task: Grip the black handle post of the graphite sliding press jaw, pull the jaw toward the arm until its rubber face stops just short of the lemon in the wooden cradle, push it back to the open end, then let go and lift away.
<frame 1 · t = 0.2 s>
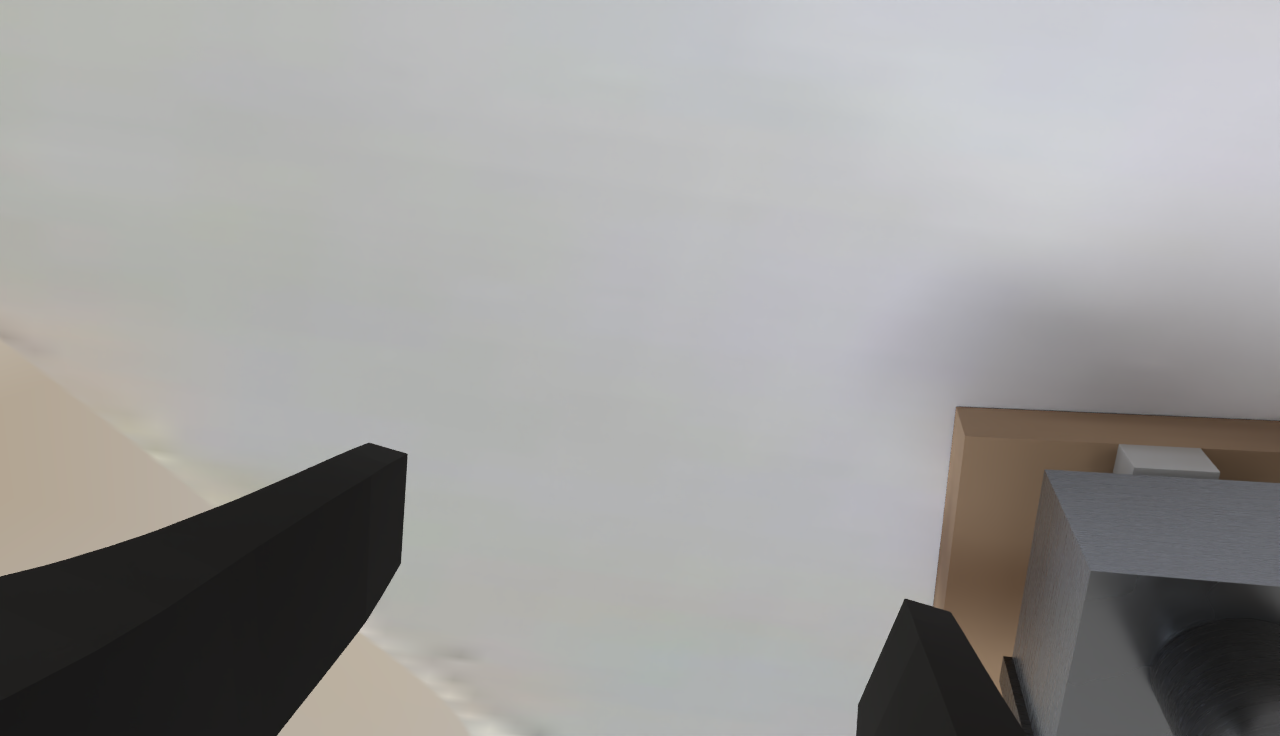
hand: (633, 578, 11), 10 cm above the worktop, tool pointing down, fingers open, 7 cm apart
press bed: (1098, 584, 21), on the worktop
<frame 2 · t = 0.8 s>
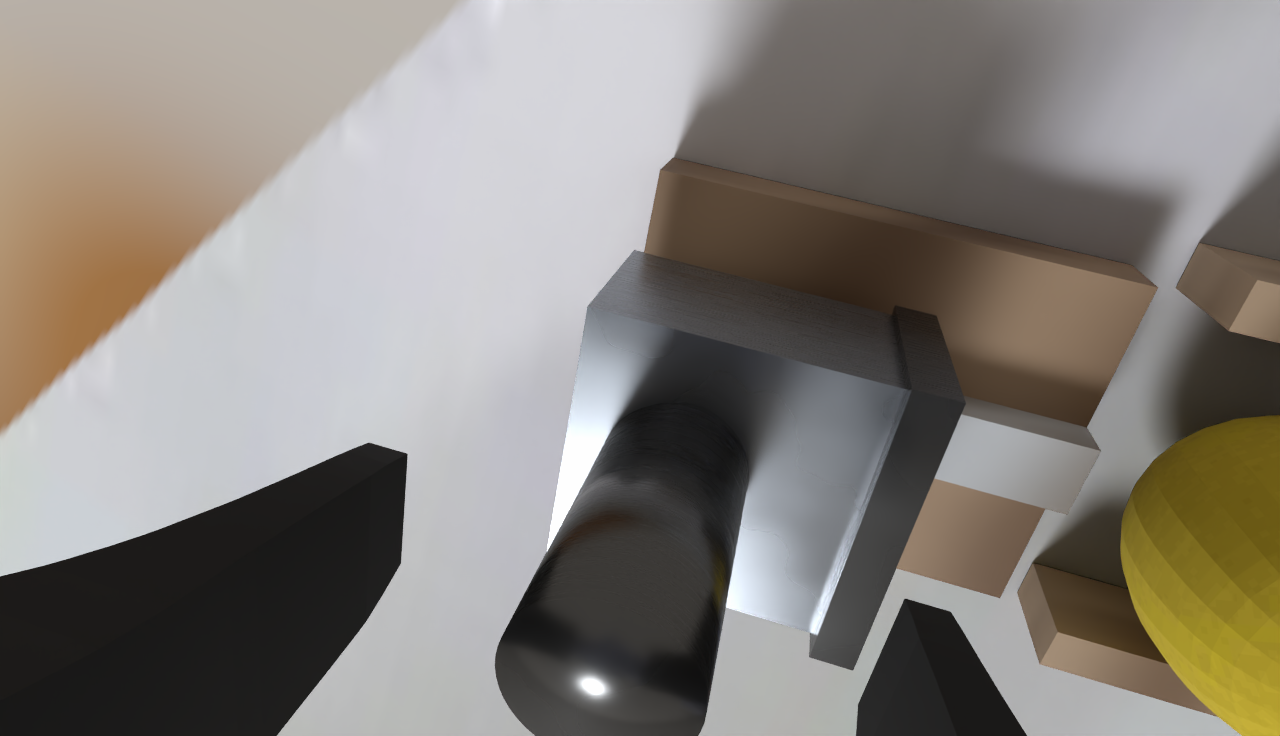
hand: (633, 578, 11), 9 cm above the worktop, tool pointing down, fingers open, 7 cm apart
lemon cradle: (1210, 467, 18), on the worktop
lemon: (1206, 462, 18), on the worktop
press bed: (840, 370, 19), on the worktop
press jaw: (723, 512, 13), point 7 cm above the worktop, slide at 0.0 cm
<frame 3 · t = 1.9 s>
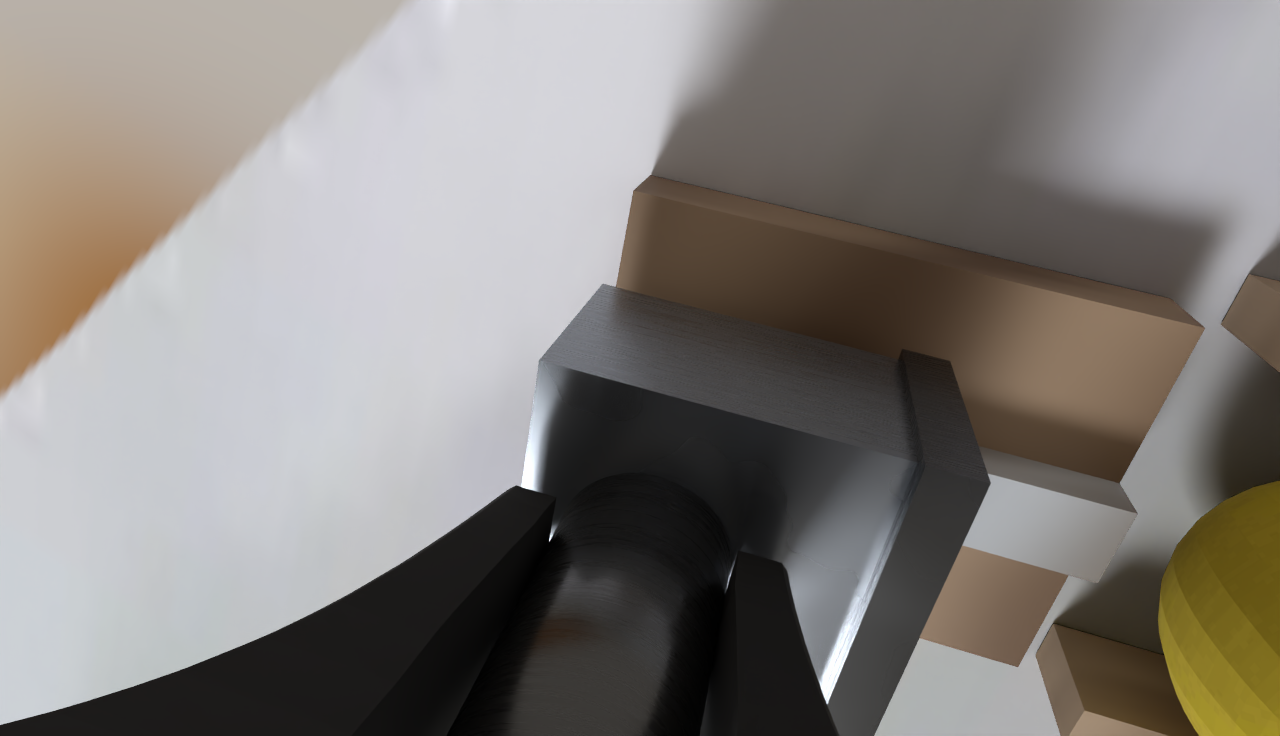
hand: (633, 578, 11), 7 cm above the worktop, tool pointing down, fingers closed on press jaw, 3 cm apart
lemon cradle: (1256, 523, 16), on the worktop
lemon: (1251, 516, 16), on the worktop
press bed: (839, 412, 17), on the worktop
press jaw: (701, 603, 11), point 7 cm above the worktop, slide at 0.0 cm, touching gripper
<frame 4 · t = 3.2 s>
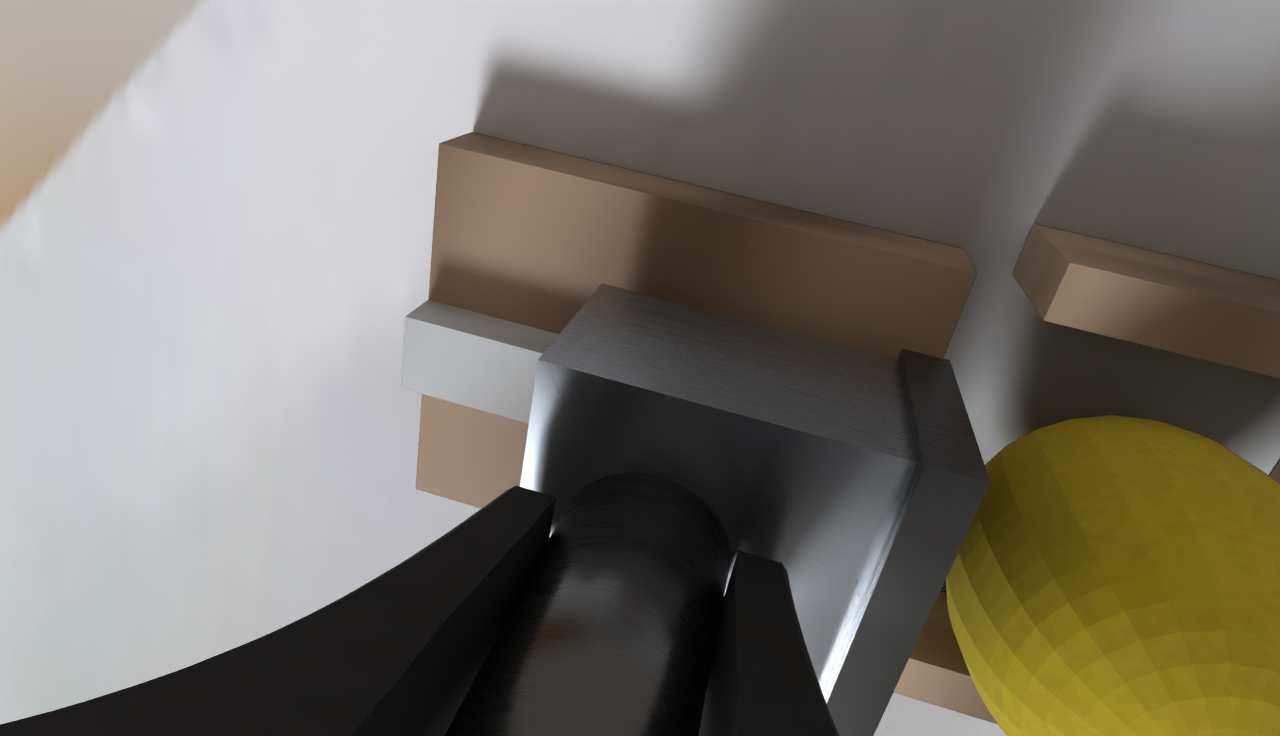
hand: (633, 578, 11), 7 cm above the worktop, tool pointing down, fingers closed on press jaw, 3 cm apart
lemon cradle: (1064, 471, 16), on the worktop
lemon: (1061, 466, 17), on the worktop
press bed: (668, 366, 17), on the worktop
press jaw: (700, 603, 11), point 7 cm above the worktop, slide at 3.8 cm, touching gripper
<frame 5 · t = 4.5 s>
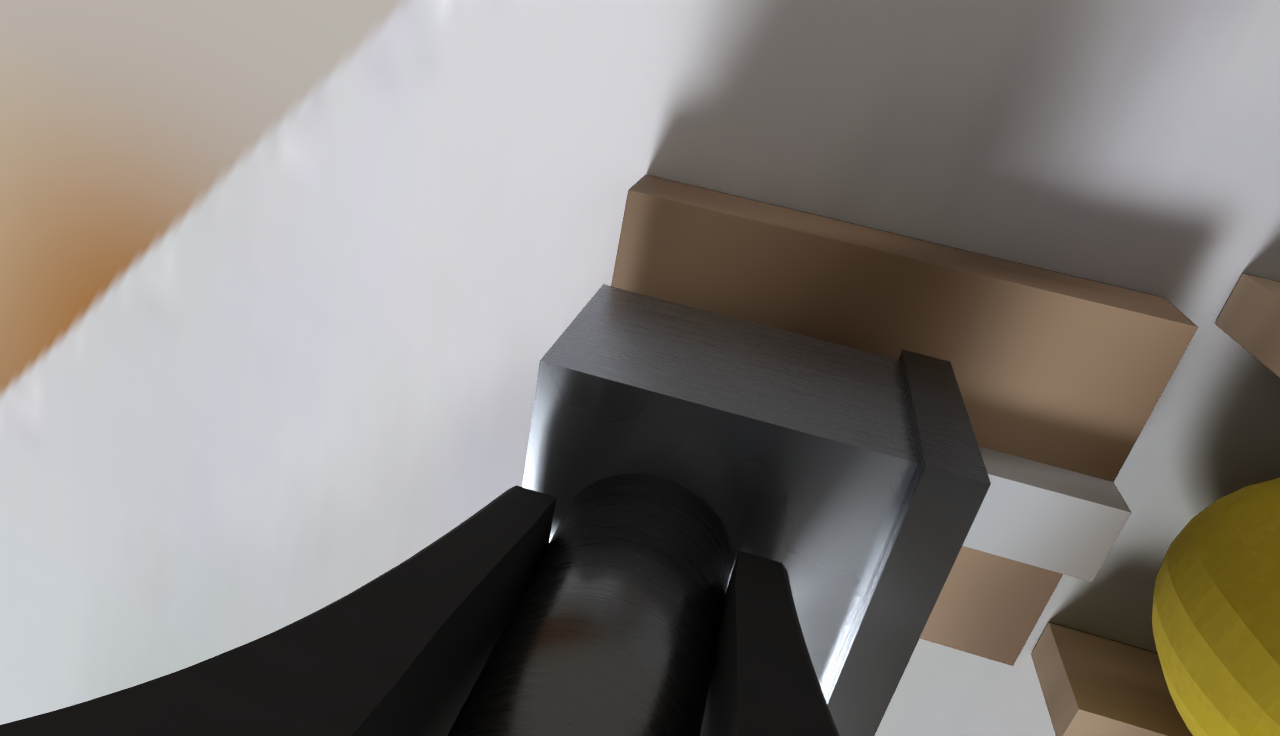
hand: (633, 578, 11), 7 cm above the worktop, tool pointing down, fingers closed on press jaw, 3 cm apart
lemon cradle: (1250, 522, 16), on the worktop
lemon: (1245, 515, 16), on the worktop
press bed: (835, 411, 17), on the worktop
press jaw: (701, 604, 11), point 7 cm above the worktop, slide at 0.1 cm, touching gripper
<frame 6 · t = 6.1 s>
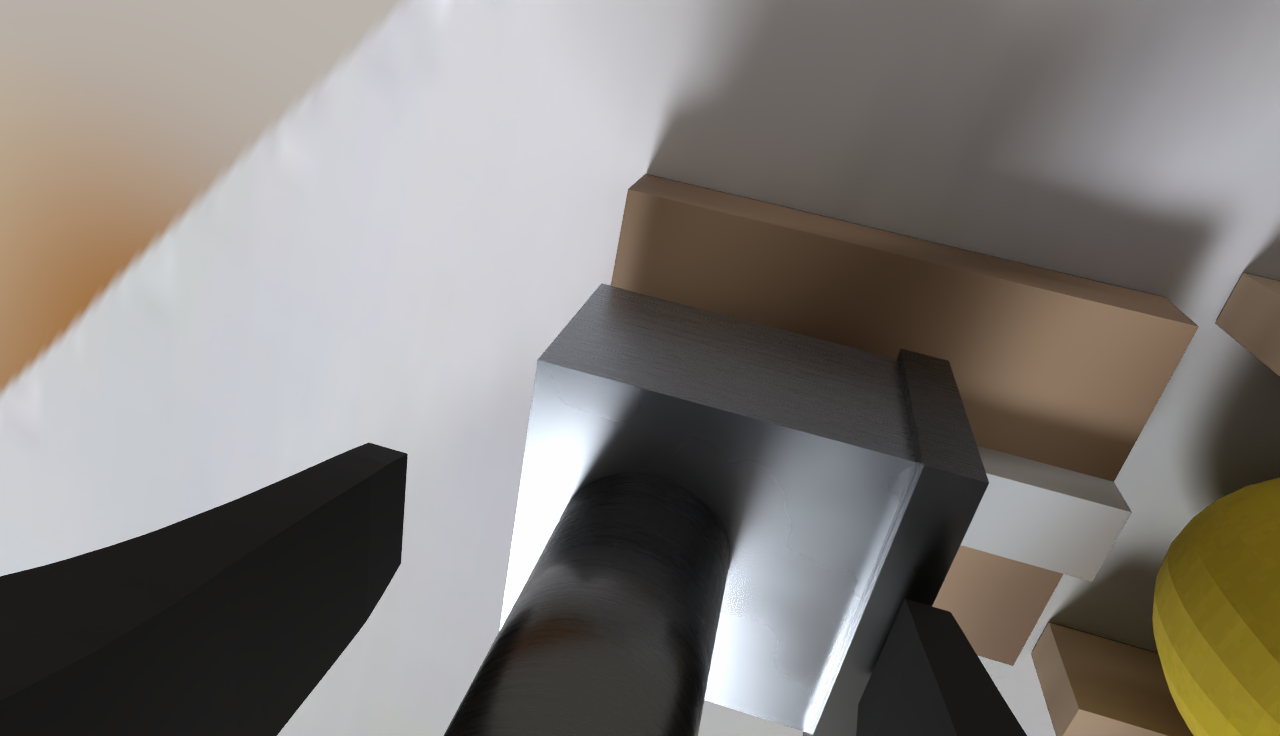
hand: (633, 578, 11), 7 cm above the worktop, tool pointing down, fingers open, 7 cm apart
lemon cradle: (1251, 521, 16), on the worktop
lemon: (1245, 515, 16), on the worktop
press bed: (834, 411, 17), on the worktop
press jaw: (699, 603, 11), point 7 cm above the worktop, slide at 0.1 cm
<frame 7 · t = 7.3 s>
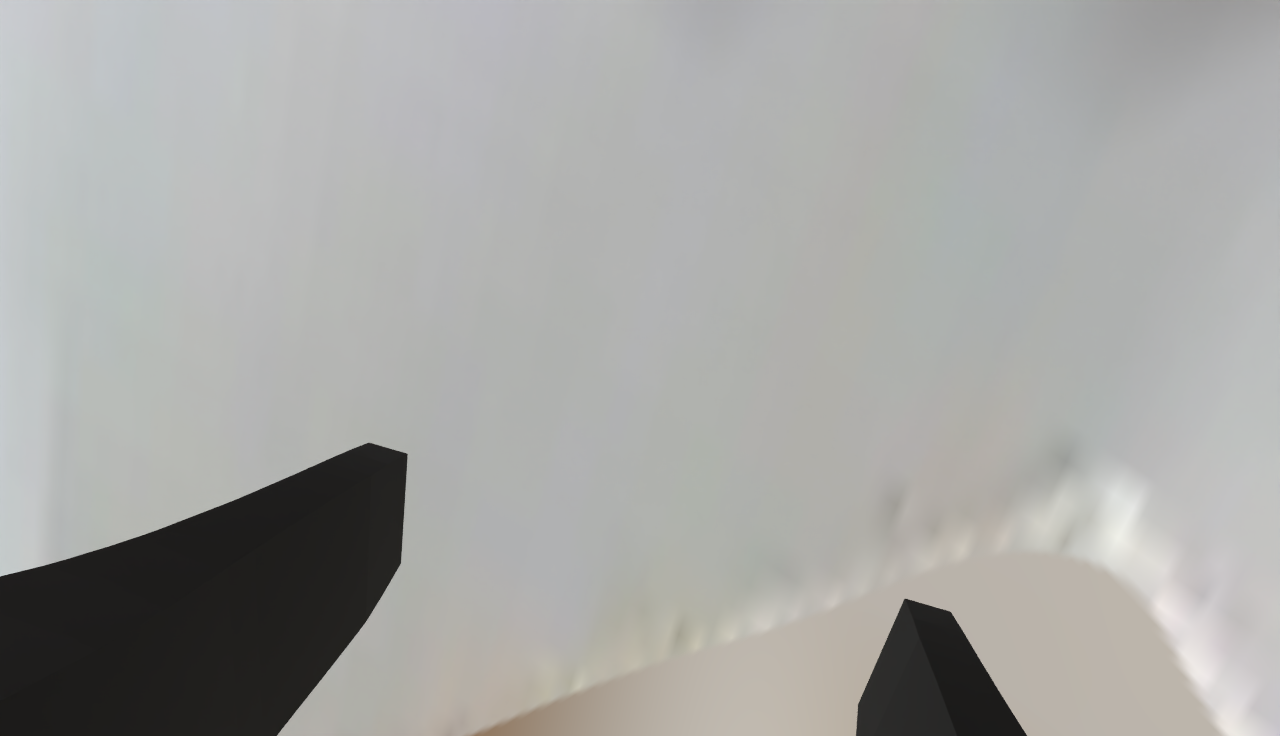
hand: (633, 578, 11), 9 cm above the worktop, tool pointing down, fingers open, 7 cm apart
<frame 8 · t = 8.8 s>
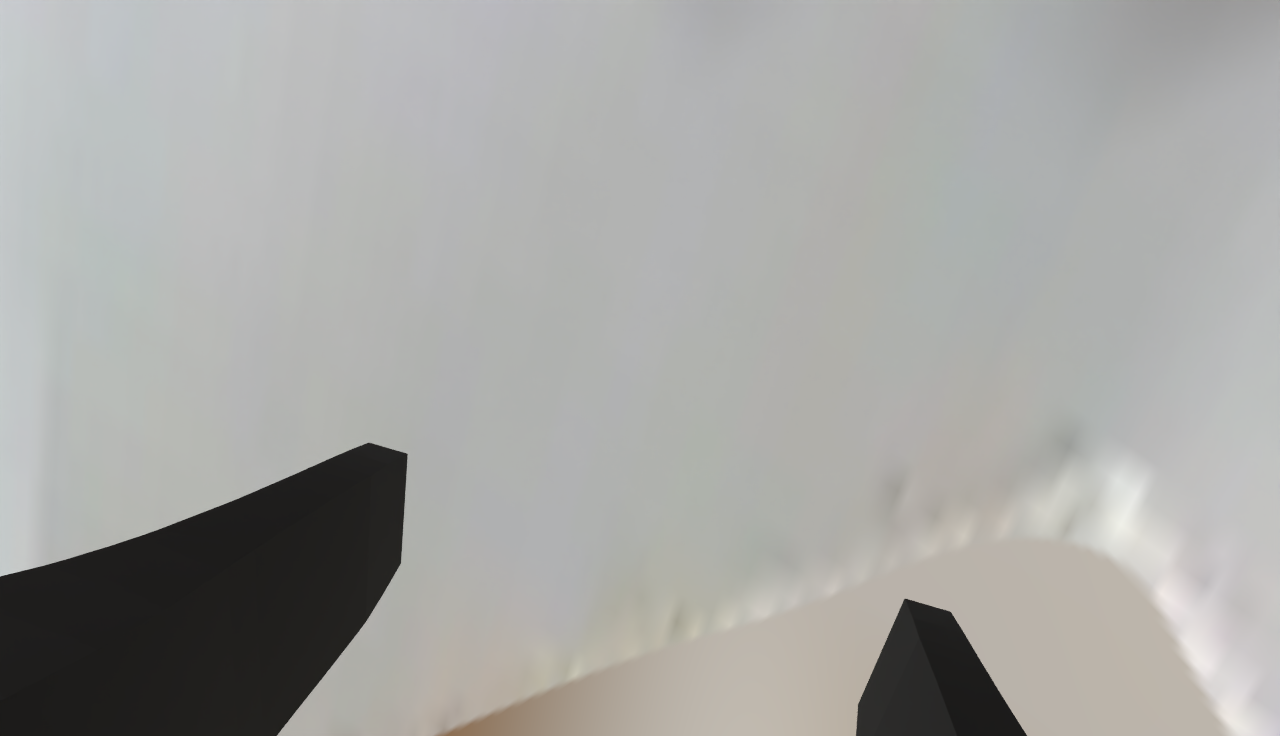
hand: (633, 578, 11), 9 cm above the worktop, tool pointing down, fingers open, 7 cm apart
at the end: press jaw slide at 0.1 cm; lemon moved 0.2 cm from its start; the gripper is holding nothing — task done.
